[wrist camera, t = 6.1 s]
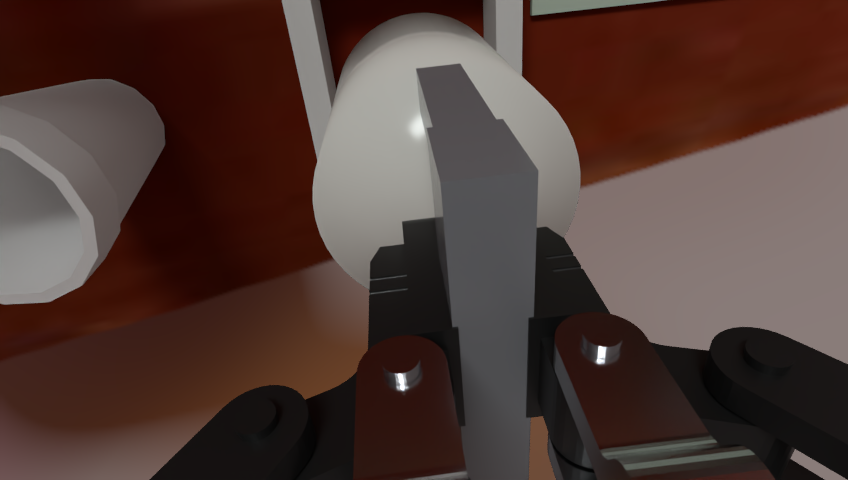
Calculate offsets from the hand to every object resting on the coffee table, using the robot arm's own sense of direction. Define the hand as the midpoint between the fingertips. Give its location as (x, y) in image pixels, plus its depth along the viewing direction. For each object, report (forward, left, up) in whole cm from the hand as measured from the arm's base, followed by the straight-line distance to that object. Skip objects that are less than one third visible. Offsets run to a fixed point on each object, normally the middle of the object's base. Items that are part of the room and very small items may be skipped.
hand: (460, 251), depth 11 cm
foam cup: (+3, -20, -25) cm, 32 cm away
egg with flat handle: (0, 0, -11) cm, 11 cm away
